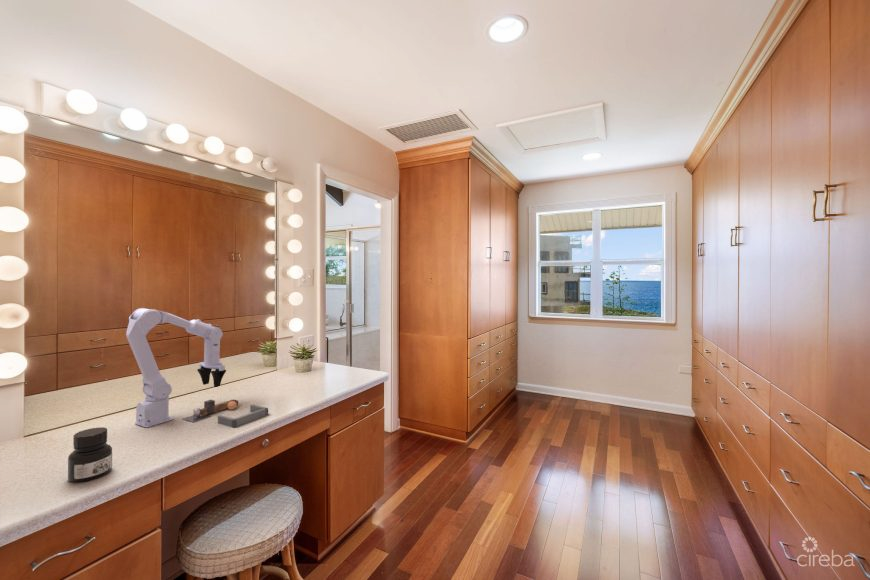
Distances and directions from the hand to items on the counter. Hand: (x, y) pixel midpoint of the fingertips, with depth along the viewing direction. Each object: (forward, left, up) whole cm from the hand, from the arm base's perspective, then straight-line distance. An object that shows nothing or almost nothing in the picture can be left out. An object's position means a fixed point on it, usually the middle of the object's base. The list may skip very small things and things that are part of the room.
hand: (211, 385), depth 155 cm
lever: (-2, -8, -9) cm, 12 cm away
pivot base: (-11, -8, -9) cm, 16 cm away
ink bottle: (-50, -25, -10) cm, 56 cm away
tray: (-3, -25, -9) cm, 27 cm away
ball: (+2, -11, -8) cm, 13 cm away
